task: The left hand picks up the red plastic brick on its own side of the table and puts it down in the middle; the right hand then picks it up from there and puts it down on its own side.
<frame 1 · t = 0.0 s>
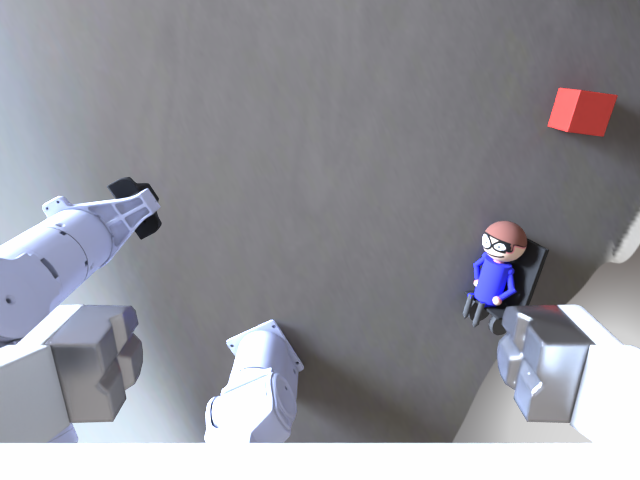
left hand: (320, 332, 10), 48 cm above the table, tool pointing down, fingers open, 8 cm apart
character figurine: (488, 265, 62), on the table
brick: (570, 109, 55), on the table
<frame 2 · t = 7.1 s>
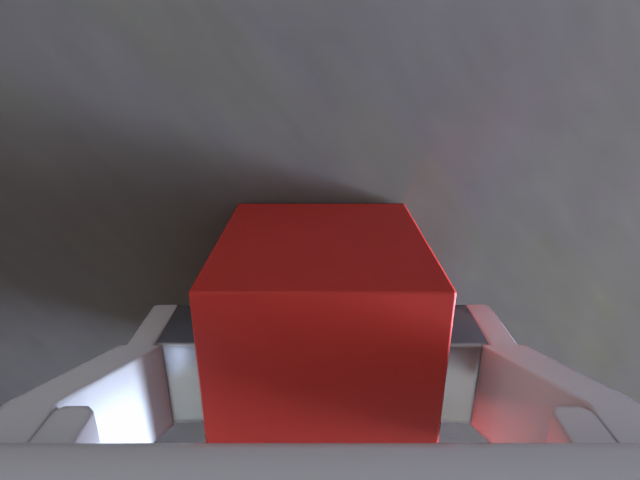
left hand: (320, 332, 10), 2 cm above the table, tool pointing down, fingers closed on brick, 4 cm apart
brick: (321, 282, 12), on the table, touching left hand
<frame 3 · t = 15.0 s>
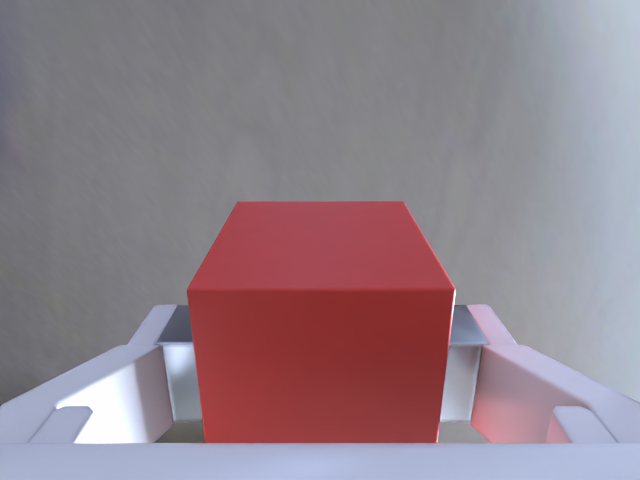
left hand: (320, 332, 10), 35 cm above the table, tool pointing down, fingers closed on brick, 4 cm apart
brick: (320, 280, 12), point 32 cm above the table, touching left hand
when the left hand's fingers open (3 cm above the table, at t = 23.1 s): brick drops 1 cm, on the table.
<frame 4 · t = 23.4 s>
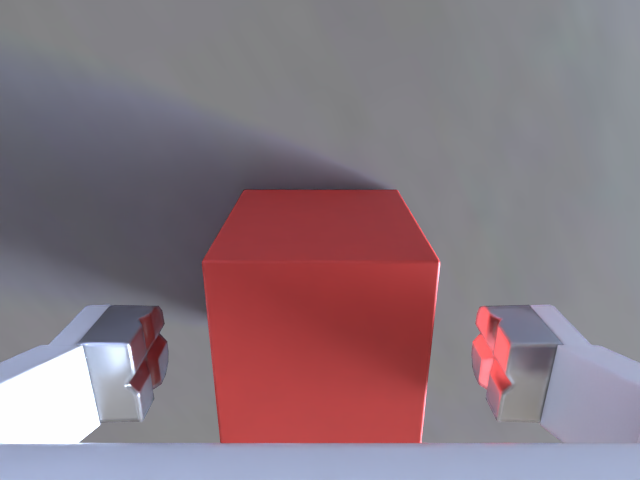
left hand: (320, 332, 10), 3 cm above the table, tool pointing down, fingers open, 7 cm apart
brick: (320, 264, 13), on the table
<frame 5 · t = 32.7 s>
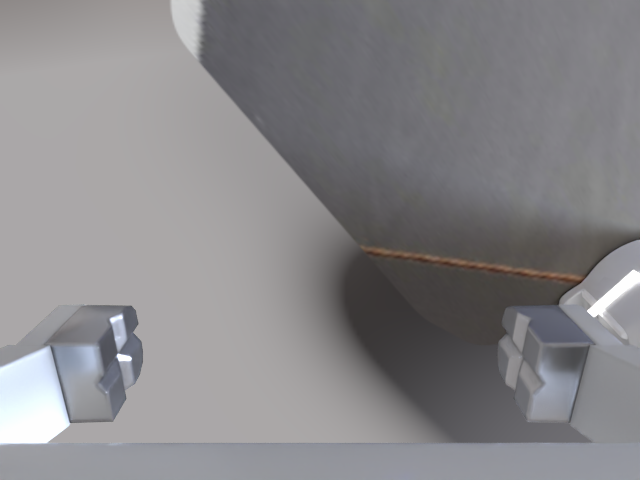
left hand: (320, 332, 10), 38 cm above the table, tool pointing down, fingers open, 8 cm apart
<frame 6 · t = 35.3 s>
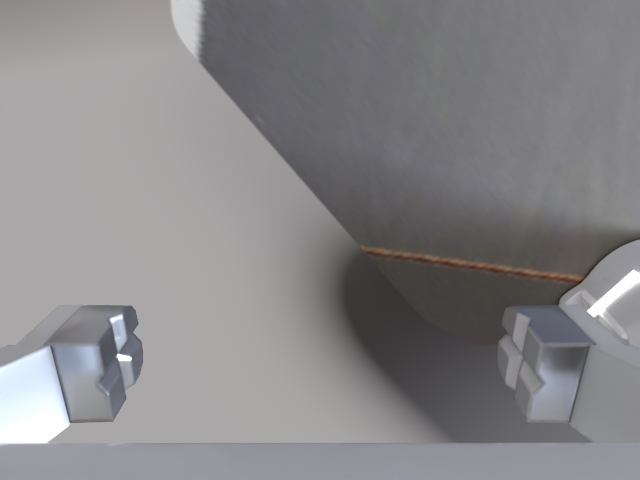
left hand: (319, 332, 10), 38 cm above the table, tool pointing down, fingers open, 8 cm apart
when the right hand's fingers open (3 cm above the table, at t = 38.0 s): brick stays where it is, on the table.
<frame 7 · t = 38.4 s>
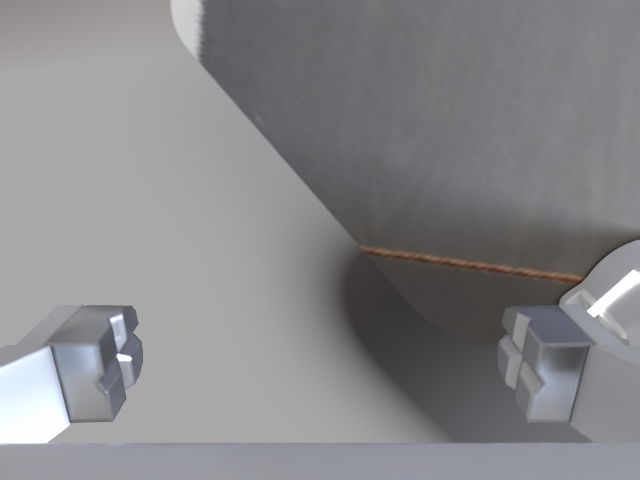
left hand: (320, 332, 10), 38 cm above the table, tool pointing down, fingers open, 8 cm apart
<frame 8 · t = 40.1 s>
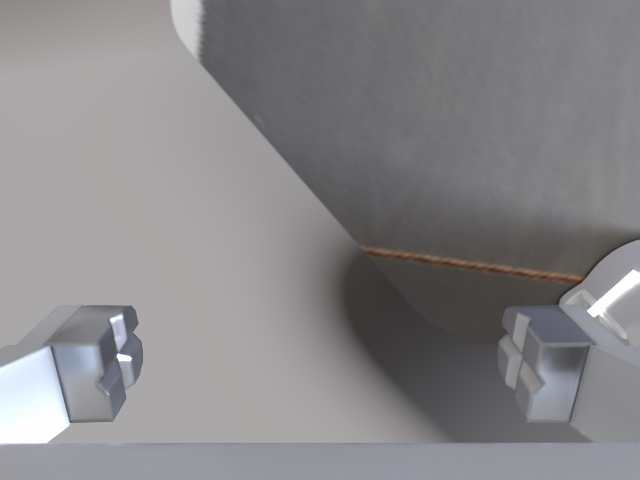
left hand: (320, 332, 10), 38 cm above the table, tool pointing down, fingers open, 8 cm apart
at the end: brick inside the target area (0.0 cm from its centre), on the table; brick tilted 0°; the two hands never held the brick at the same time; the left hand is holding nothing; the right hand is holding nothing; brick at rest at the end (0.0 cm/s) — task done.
